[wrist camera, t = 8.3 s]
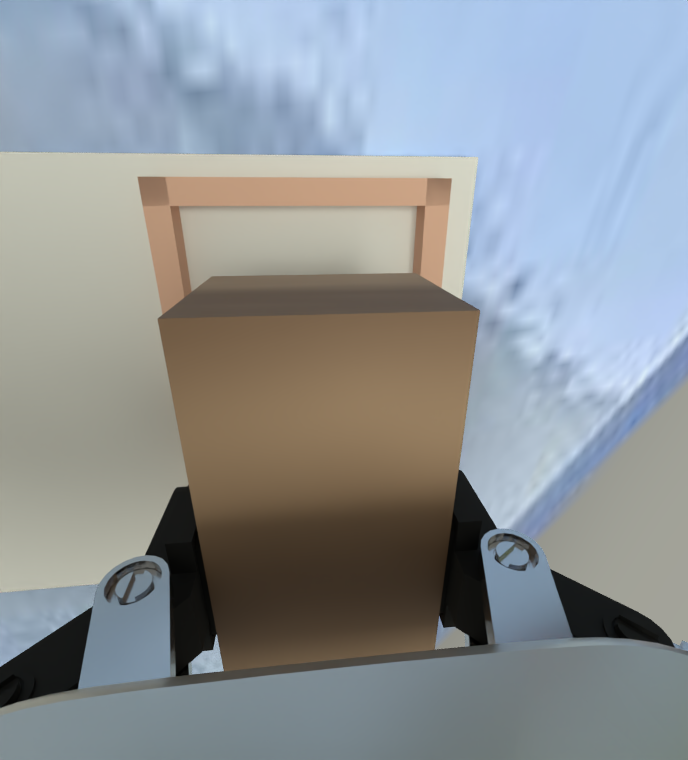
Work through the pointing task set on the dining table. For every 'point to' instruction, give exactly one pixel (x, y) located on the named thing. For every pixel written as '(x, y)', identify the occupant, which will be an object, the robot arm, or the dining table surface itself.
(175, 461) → the mat
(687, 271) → the dining table surface
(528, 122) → the dining table surface
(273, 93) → the dining table surface
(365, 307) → the walnut block
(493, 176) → the dining table surface
